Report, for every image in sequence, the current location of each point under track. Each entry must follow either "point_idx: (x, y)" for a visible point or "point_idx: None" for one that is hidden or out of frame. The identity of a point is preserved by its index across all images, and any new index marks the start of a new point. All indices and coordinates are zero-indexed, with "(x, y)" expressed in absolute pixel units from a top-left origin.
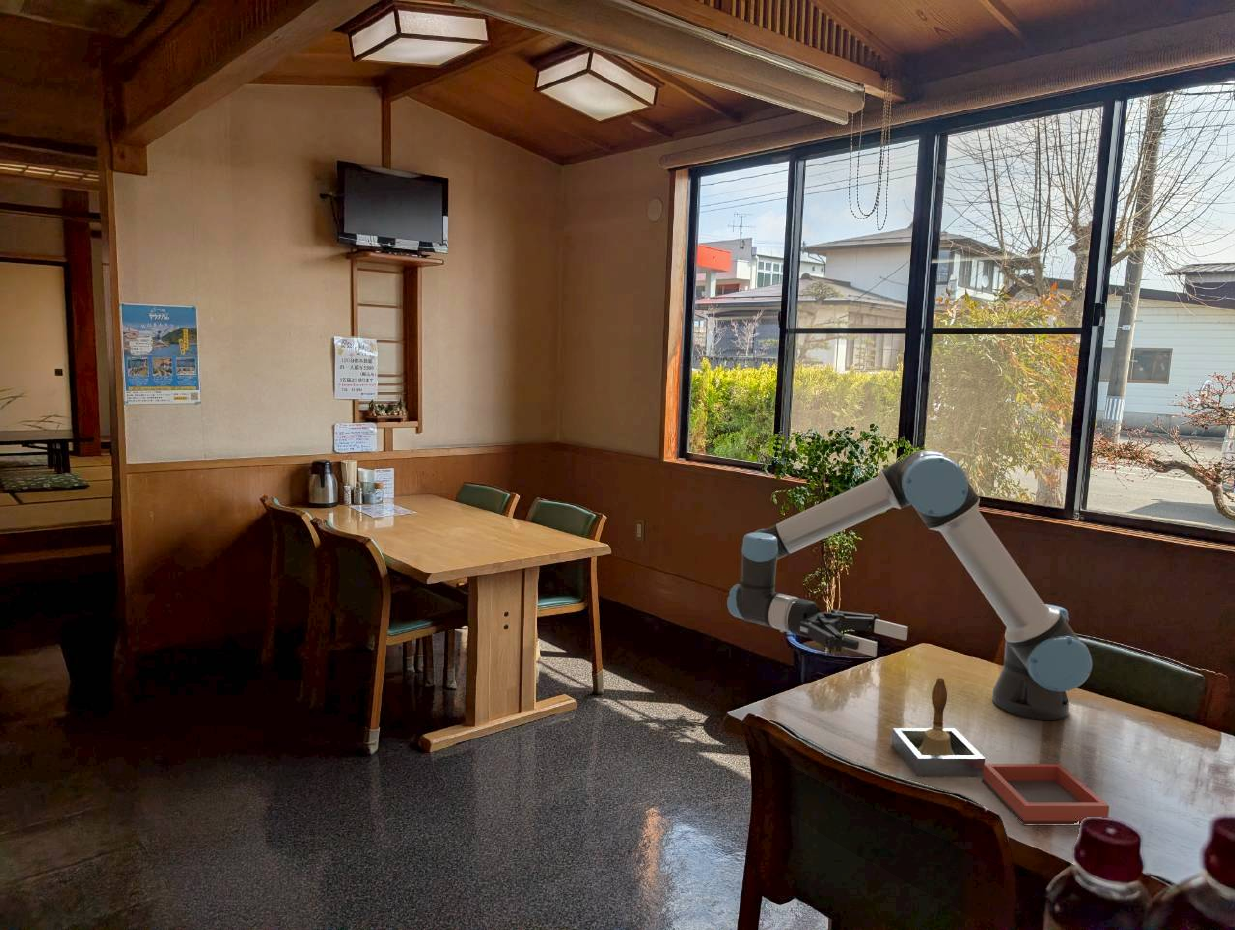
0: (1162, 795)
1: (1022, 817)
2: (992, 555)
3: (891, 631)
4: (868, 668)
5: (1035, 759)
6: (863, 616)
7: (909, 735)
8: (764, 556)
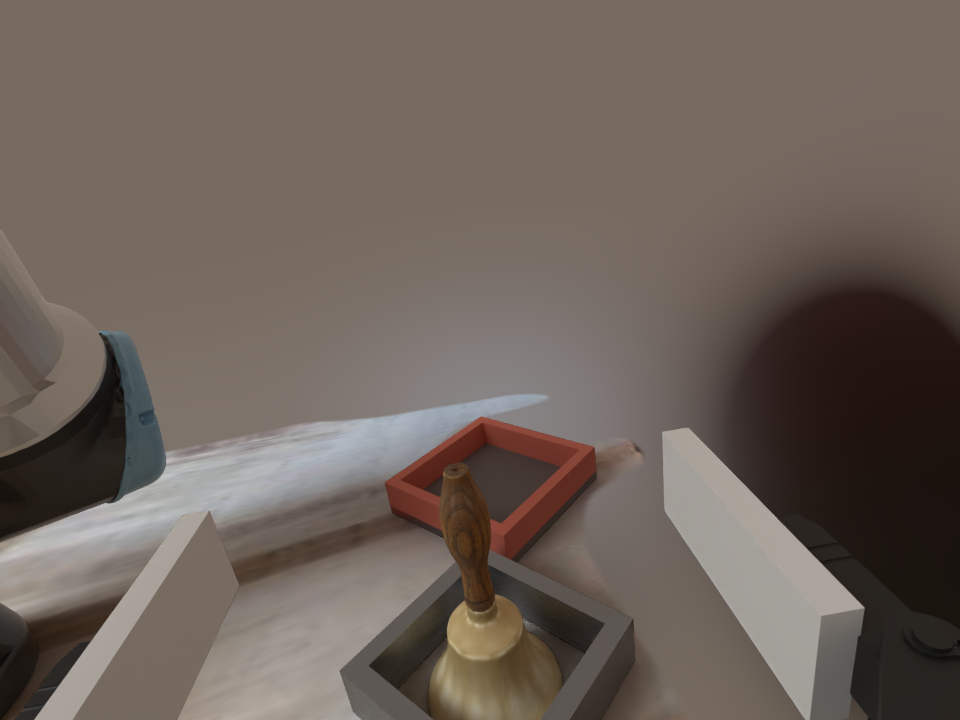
0: (334, 448)
1: (593, 471)
2: None
3: (182, 640)
4: None
5: (312, 567)
6: None
7: None
8: None
